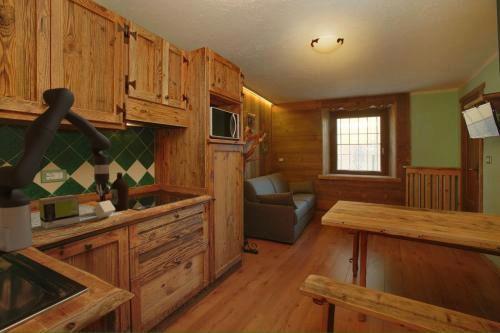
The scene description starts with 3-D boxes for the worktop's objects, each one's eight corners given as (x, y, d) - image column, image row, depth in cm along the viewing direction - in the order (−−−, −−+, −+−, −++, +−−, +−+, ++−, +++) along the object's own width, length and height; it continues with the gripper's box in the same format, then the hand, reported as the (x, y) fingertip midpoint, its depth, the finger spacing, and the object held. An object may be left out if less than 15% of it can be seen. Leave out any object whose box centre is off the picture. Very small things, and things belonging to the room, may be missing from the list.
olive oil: (123, 207, 169) (122, 171, 168) (132, 209, 164) (131, 172, 162) (108, 210, 160) (107, 172, 159) (117, 212, 155) (116, 173, 153)
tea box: (74, 219, 138) (73, 194, 137) (80, 223, 132) (78, 196, 131) (40, 226, 127) (38, 198, 126) (44, 229, 120) (42, 200, 119)
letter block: (98, 219, 139) (104, 212, 137) (92, 209, 140) (98, 202, 138) (109, 216, 145) (115, 209, 143) (103, 207, 147) (109, 200, 145)
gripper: (87, 172, 140) (88, 202, 141) (103, 173, 135) (104, 204, 136) (100, 171, 147) (101, 199, 148) (115, 172, 142) (116, 201, 143)
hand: (102, 201), depth 142 cm, fingers closed
